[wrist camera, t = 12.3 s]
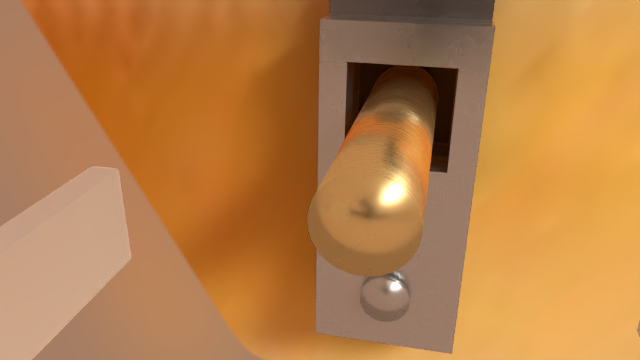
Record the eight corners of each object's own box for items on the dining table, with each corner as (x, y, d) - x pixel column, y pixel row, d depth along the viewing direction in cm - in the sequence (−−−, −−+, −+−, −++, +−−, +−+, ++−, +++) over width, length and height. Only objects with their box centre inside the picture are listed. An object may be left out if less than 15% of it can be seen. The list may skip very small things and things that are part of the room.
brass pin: (374, 62, 28) (307, 167, 16) (440, 65, 28) (427, 178, 15) (371, 125, 29) (307, 269, 17) (435, 129, 29) (418, 283, 16)
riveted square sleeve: (342, -190, 24) (319, -215, 20) (516, -194, 23) (529, -222, 19) (330, 290, 34) (313, 340, 30) (452, 307, 33) (451, 361, 28)
